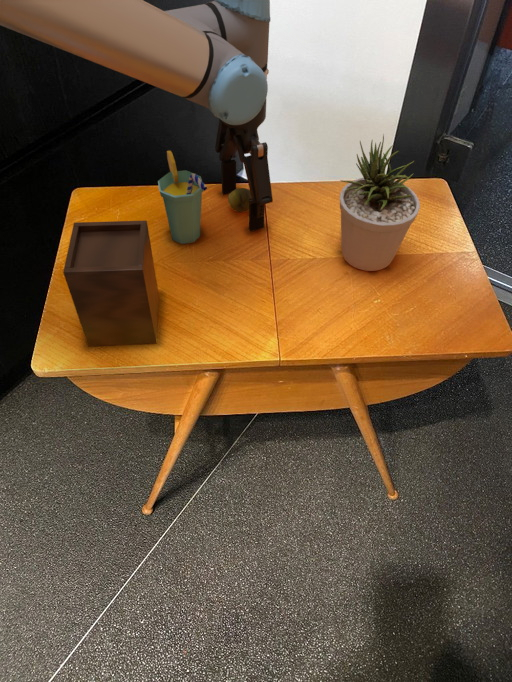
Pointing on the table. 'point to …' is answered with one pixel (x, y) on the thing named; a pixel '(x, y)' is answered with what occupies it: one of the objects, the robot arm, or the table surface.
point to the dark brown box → (113, 282)
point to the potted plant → (375, 212)
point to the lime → (239, 199)
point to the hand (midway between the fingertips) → (242, 209)
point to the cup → (182, 202)
